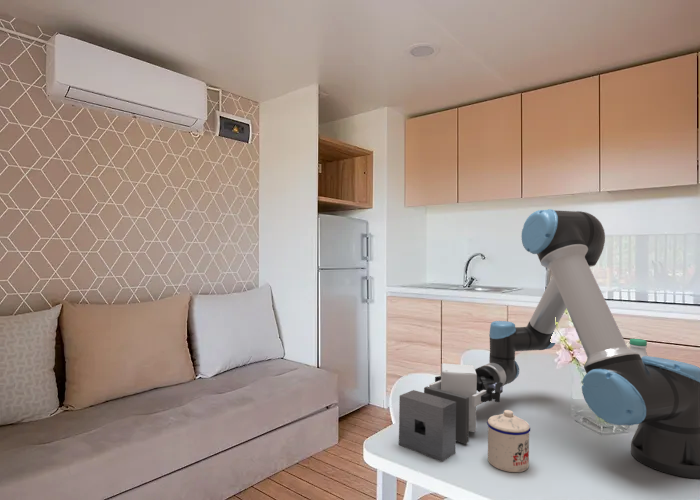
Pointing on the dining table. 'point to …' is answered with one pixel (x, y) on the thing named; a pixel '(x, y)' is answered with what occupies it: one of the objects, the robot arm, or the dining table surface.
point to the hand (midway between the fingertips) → (451, 395)
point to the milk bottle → (639, 346)
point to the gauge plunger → (461, 411)
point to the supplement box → (461, 385)
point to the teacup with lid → (508, 442)
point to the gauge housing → (427, 424)
